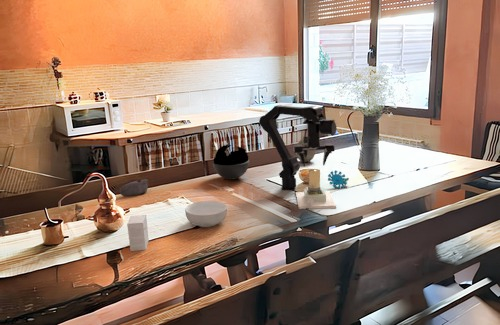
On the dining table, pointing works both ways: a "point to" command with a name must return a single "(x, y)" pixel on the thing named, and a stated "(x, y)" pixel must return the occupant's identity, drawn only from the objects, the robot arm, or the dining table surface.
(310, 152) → the decorative egg
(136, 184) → the perforated stone tool
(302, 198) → the shaft mount
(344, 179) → the teal spiky figurine
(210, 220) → the cereal bowl
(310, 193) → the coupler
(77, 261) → the dining table surface
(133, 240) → the small box
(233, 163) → the coal bowl
